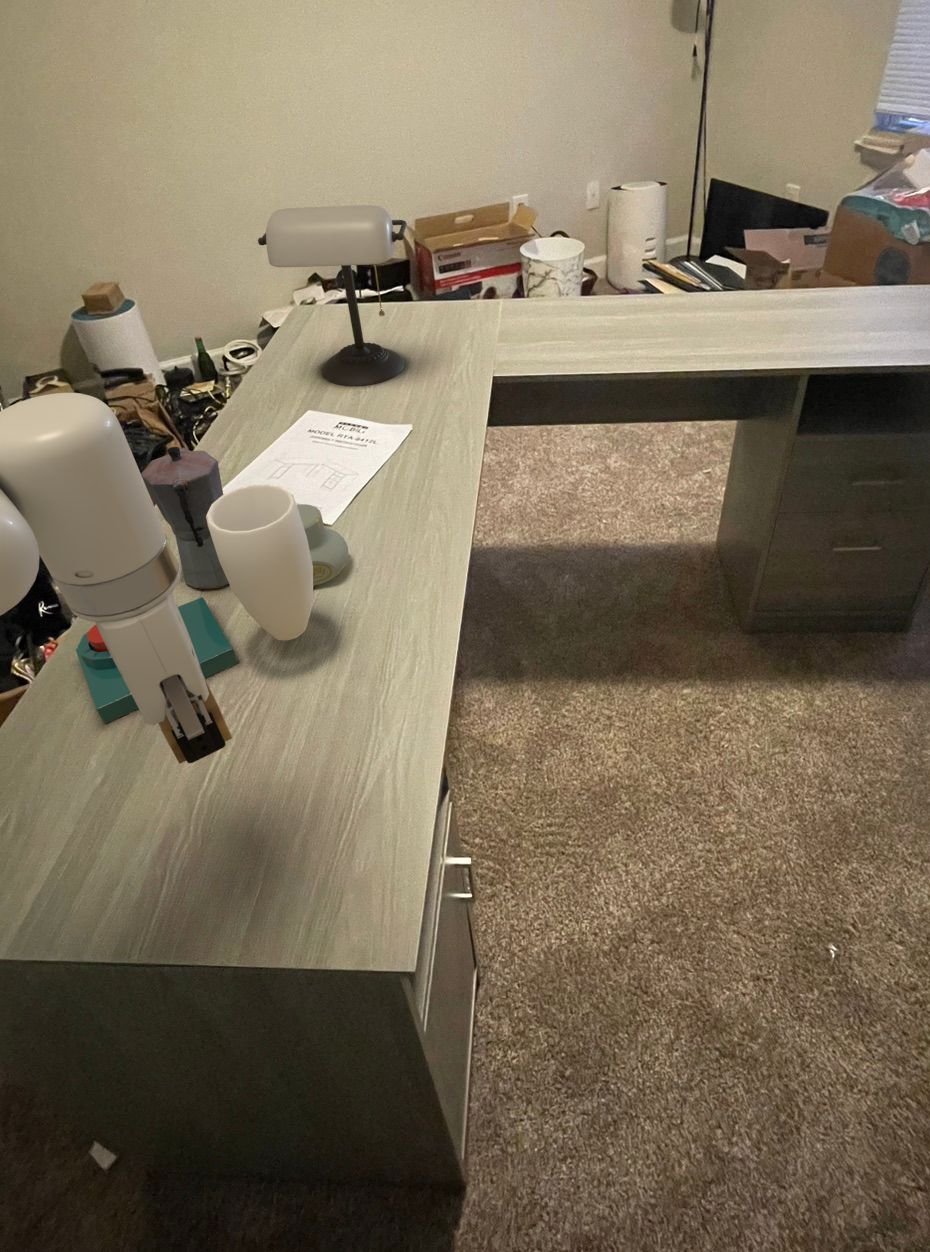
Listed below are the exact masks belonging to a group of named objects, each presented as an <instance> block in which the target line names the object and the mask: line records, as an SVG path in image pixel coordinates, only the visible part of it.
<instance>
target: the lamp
mask: <svg viewBox="0 0 930 1252" xmlns="http://www.w3.org/2000/svg"><path fill="white" fill-rule="evenodd" d="M407 225H408V223H407V221H405V220H403V219H392V217H391V214H390V213H389V212H388V211H387V210H386V209H385V207H382V206H380V205H370V204H368V205H366V204H365V205H333V206H331V205H330V206H308V207H307V206H306V207H305V206H304V207H287V208H281V209H277V210H275V211H273V212H272V214H271V216H269V219H268V221H267V224H266V228H265V232H264V234H263V235H262V236H261V237H259V238H257V244H258V245H259V246H266V252H267V259H268V264H269V265H270V266H272V267H275V268H309V267H311V268H312V267H338V266H339V267H340V268H341V273H342V279H343V284H344V290H345V296H346V302H347V308H348V313H349V319H350V324H351V325H350V326H351V331H352V335H353V342H354V343H352V344H348V345H347V346H344V347H342V348H341V349H340V350H339V351H338V352H337V353H335V354H333V356H331V357H329V359H327V360H326V362H325V363H324V364H323V365H322V367H321V370H320V372H321V373H320V374H321V376H322V378H324V379H325V380H326V381H327V382H330V383H333V384H335V385H340V386H344V387H345V386H348V387H362V386H371V385H375V384H379V383H383V382H386V381H389V380H391V379H393V378H396V377H397V376H398V375H399V374H400V373H402V371H403V370H404V369H405V366H406V361H405V359H404V358H403V357H402V356H401V355H400V354H399V353H397V352H395V351H393V350H391V349H389V348H386V347H383V346H381V345H380V344H377V343H374V342H365V341H364V335H363V330H362V323H361V317H360V312H359V311H360V310H359V305H358V300H357V299H358V298H357V292H356V287H355V281H354V275H353V269H352V266H362V265H363V266H364V265H373V266H374V275H375V281H376V287H377V295H378V301H379V302H378V303H379V308H380V310H379V312H378V316H379V317H385V316H386V313H385V311H384V310H383V306H382V300H381V292H380V287H379V279H378V272H377V266H376V265H378V264H383V263H386V262H388V261H389V260H391V259H392V257H393V255H394V252H395V249H396V242H397V241H404V239H405V235H404V234H405V231H406V229H407ZM394 226H400V228H399V231H398V232H397V233H396V232H395V231H394Z"/></svg>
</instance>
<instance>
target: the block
mask: <svg viewBox="0 0 930 1252" xmlns="http://www.w3.org/2000/svg"><path fill="white" fill-rule="evenodd" d="M203 676H204V675H203ZM204 679H205V682H206V686H207V689H208V692H209V696H208V698H207V700H206V701H205V702H204V700H202V701H203V703H204V706H205V708H206V710H207V712H208V713H210V712H211V713H212V715H213V717H214V719H215V721H216V724H217V726H218V728H219V730H220V732H221V734H222V737H223V739H224V741H225V743H226V742H228V741H230V740H232V739H233V736H232V733H231V731H230V728H229V727H228V725H227V721H226V720H225V718H224V715H223V713H222V711H221V708H220V707H219V704H218V702H217V699H216V698H215V696H214V694H213V691H212V690H211V688H210V685H209V684H208V682H207V678H205V677H204ZM185 691H186V692H187V691H188V689H187V690H185ZM166 700H169V698H167V699H166ZM192 706H193V708H194V710H195V713H196V714H197V713H200V711H199V709H198V707H197V705H196V703H193V704H192ZM174 714H175V716H176V718H177V720H178V722H179V719H178V717H177V715H176V713H175V712H174ZM158 726H159V729H160V731H161V733H162V735H163V737H164V738H165V740H166V742H167V744H168V746H169V748H170V749H171V751H172V753H173V755H174V757H175V759H176V760H177V762H178V764H179V765H180V764H183V763H185V762H187V761H186V759H185V757H184V755H183V753H182V751H181V749H180V747H179V746H178V744H177V742H176V740H175V738H174V736H173V734H172V732H171V731H172V730H173V728H172V726H171V724H170V722H169V720H168V718H167V716H166V714H165V719H164V721H162V722H160V723H158Z"/></svg>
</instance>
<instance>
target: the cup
mask: <svg viewBox="0 0 930 1252" xmlns="http://www.w3.org/2000/svg"><path fill="white" fill-rule="evenodd" d="M297 505H298V504H297V502H296V499H295V496H294V494H293V493H292V492H290V491H289V490H287V489H286V488H284V487H282V486H279V485H274V484H269V483H265V484H264V483H262V484H250V485H246V486H243V487H238V488H235V489H233V490H231V491H229V492H227V493H223V495H222V496H221V497H220V498H219V499H218V500H216V501H215V502H214V503H213V504H212V505H211V507H210V509H209V511H208V513H207V515H206V519H207V524H208V528H209V531H210V534H211V537H212V540H213V543H214V546H215V549H216V553H217V556H218V559H219V562H220V564H221V566H222V568H223V571H224V573H225V575H226V577H227V580H228V582H229V587H230V589H231V591H232V593H234V595H235V597H236V598H237V599H238V601H239V602H240V604H241V605H242V606H243V608H244V609H245V610H246V612H247V614H248V615H249V616H250V617H251V618H252V619H253V620H254V621H255V622H256V624H258V625H259V627H261V628H262V629H263V630H264V631H265V632H266V633H268V634H269V635H270V636H272V638H274V639H275V640H278V641H290V640H294V639H296V638H298V637H300V636H301V635H303V634H304V632H305V631H306V630H307V627H308V623H309V620H310V616H311V612H312V605H313V598H314V586H313V565H312V560H311V555H310V550H309V545H308V540H307V536H306V533H305V530H304V526H303V523H302V520H301V517H300V514H299V511H298V507H297Z"/></svg>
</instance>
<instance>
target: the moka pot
mask: <svg viewBox="0 0 930 1252" xmlns="http://www.w3.org/2000/svg"><path fill="white" fill-rule="evenodd" d="M166 450H167V453H168V454H166V455H164V456H161V457H158V458H156V459H153V460H151V461H150V462H149V463H148V465H147V466H146V468H144V470H143V471H142V472H140V474H141V476H142V478H143V481H144V483H145V486H146V488H147V490H148V493H149V495H150V497H151V499H153V501H154V504H156V506H157V508H158V510H159V512H160V514H161V515H162V517H163V520H164V521H165V522H166V523H167V524H168V525H169V526H170V527H171V531H172V533H173V535H174V536H175V541H176V546H177V551H178V556H179V560H180V561H179V562H180V567H181V572H182V575H183V580H184V583H186V584H187V585H188V586H190V587H192V588H195V589H203V590H206V589H207V590H208V589H217V588H222V587H224V586H226V585H228V584H229V582H228V580H227V577H226V575H225V573H224V571H223V568H222V566H221V564H220V562H219V559H218V556H217V553H216V549H215V546H214V543H213V540H212V537H211V534H210V531H209V528H208V524H207V519H206V515H207V513H208V511H209V509H210V507H211V505H212V504H213V503H214V502H215V501H216V500H218V499H219V498H220V497H221V496H222V495H224V491H223V486H222V480H221V479H222V478H221V474H220V467H219V461H218V460H217V459H216V458H215V457H213V456H212V455H211V454H210V453H208V452H207V451H205V450H188V449H187V448H186V447H181V448H180V447H179V446H172V447H169V448H167V449H166ZM229 585H230V584H229Z"/></svg>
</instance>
